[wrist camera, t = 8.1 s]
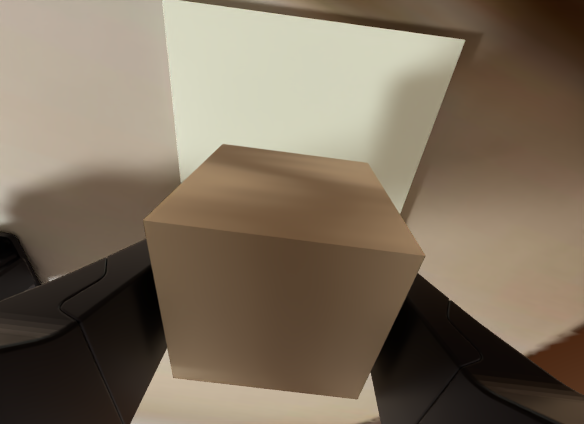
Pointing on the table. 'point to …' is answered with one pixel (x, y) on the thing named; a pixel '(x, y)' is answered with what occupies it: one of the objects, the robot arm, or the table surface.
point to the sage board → (304, 88)
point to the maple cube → (279, 271)
